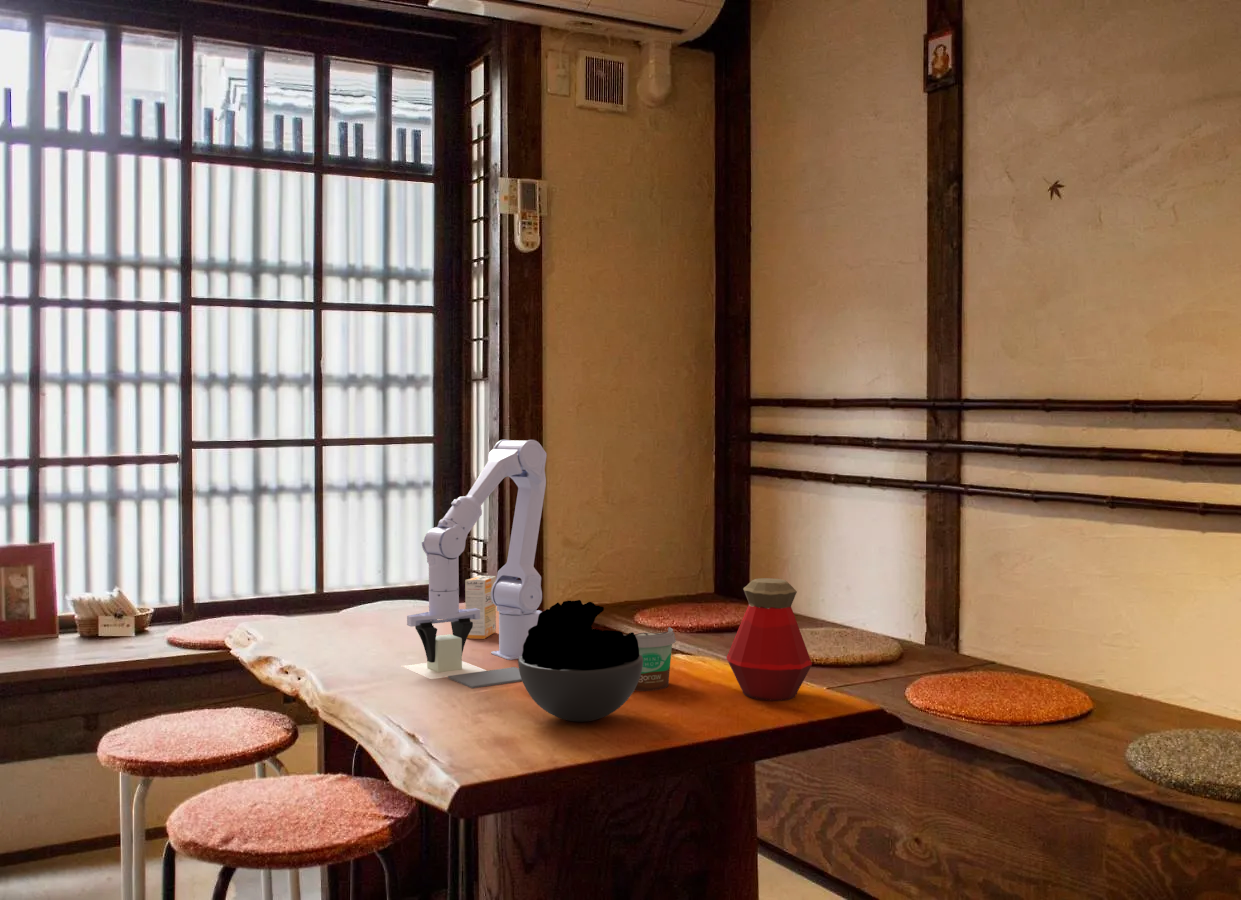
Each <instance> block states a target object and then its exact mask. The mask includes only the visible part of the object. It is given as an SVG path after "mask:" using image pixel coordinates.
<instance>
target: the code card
mask: <svg viewBox="0 0 1241 900" xmlns="http://www.w3.org/2000/svg"><path fill="white" fill-rule="evenodd" d="M401 667H402V668H404V669H407V670H409V671H411V672H413V673H416V674H418V675H420V676H422V677H425V678H427V679H430V680H435V679H443V678H448V676H452V675H459V674H467V673H474V672H481V671H488V670H486V669H485V668H481V667H479V666H476V665H474V664H471V663H469V662H466V661H463V660H462V669H459V670H452V671H444V672H436V671H434V670H431V669H429V668H427V662H422V663H416V664H409V665H408V664H407V665H406V664H405V665H401Z"/></svg>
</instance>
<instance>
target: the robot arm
mask: <svg viewBox="0 0 1241 900" xmlns="http://www.w3.org/2000/svg"><path fill="white" fill-rule="evenodd" d="M540 443H541V442H539V441H537V440H536V439H528V440H524V439H523V440H520V439H519V440H516V439H514V440H511V439H500V440H499V441H497V442H496V443H495V445H494V446H493V448H492V449H491V450H490V451H489V453H488V460H487V462H486V464H485V465H484V467H483V469H482V470H481V472H480V473H479V476H478V477H477V479H476V480H475V481H474V483H473V485H472V486H471V488H470V490H469V491H468V493H467V494H466V495H465V496H464V495H463V496H459V497H457V498H454V499H453V501H451V503H450V504H451V507H450V508H449V509H448V510H447V512H446V513H445V515H444V516H443V517H442V518H441V519H440V520H439V521H438V524H437V526H435V527H431V528H430V529H429V530H428V531H427V533H426V534H425V536H424V539H423V541H422V542H421V548H422V551H423V553H424V554H425V555H426V563H428V611H425V612H420V613H416V614H414V613H413V614H407V615H406V625H407V626H409V627H411V628H413V627H415V631H416V632H417V634H418V636H419V638H420V639H421V643H422V645H423V648H424V653H425V656H426V662H427V661H429V662H431V663H432V662H435V640H436V636H437V632H438V628H436V627H434V624H443V623H450V626H451V630H452V632H451V634H452V635H454V636H457V637H460V638H462V654H463V652H464V647H465V645H466V641H467V639H468V638H467V637H468V635H469V633H470V631H471V629H472V627H473V622H471V621H470V620H471V619H474V620H478V619H480V609H476V608H474V609H466V608H463V609H462V608H461V609H460V597H459V595H460V586H459V584H460V582H459V581H460V580H459V575H460V574H459V556H461V555H462V553H463V552H464V551H465V548H466V542H467V541H466V540H467V538H468V534H469V533H470V531H472V529H473V528H474V526H475V525H476V523H477V522H478V520H479V519H480V518H481V516H482V515H483V510H482V505H483V504H484V503H485V501H486V500H487V499H488V498H489V496H490V495H491V494H492V493H493V491H495V489H496V488H497V487H498V485H499V484H500V483H501V482H502V481H503V479H505V478H506V477H508V478H510V479H511V480H512V481H513V482H514V483H515V485H516V487H517V496H516V501H515V507H514V508H515V509H514V515H513V520H512V521H513V522H512V525H511V527H512V528H511V532H510V533H511V534H510V539H509V546H508V554H507V558H506V559H507V560H506V563H505V564H504V565H503V566H502V567H501V568H499V570H498V571H497V573H496V581H495V583H494V584H493V586H492V589H491V599H492V601H493V603H494V604H495V605H496V612H498V648H499V649H498V650H492V651H491V654H492V655H494V656H496V657H500V658H502V659H505V660H506V661H512V660H518V659H519V657H520V656H522V653H523V645H524V642H525V640H526V638H527V636H528V635H529V634H528V630H529V629H530V628H532V627H534V626H536V625H537V622H538V617H539V614H540V613H541V612H543V611H542V610H539V609H538V608H539V607H540V605H541V603H542V601H543V591H542V586H541V585H542V576H541V575H540V573H539V572H538V570H537V569H536V568H535V567H534V565H535V558H536V552H537V546H538V545H537V544H538V539H539V531H540V527H541V526H540V525H541V518H542V514H543V513H542V511H543V505H544V500H545V499H544V498H545V492H546V486H547V478H546V471H545V469H546V464H547V463H546V462H547V457H548V456H547V455H548V454H547V452H546V451H545V449H544V447H543V446H542V445H541V444H540ZM537 609H538V610H537Z"/></svg>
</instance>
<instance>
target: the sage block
mask: <svg viewBox="0 0 1241 900" xmlns="http://www.w3.org/2000/svg"><path fill="white" fill-rule="evenodd" d="M462 657H463V653H462V638H460V637H457V636H454V635H453V634H452V633H451V634H450V633H449V634H441V635H436V640H435V662H432V663H431V662H429V661H427V660H426V663H427V668H429V669H431V670H434V671H436V672H444V671H452V670H459V669H462V661H463V658H462Z"/></svg>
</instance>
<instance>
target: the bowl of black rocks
mask: <svg viewBox="0 0 1241 900" xmlns="http://www.w3.org/2000/svg"><path fill="white" fill-rule="evenodd" d="M604 610H605V607H604V606H601V605H596V604H595V602H592V601H588V602H586V603H584V604H583V602H582V600H580V599H576V600H564V601H563V602H562V603H561V604H560V602H557V603H555V604H553V605H551V606H550V607H549V609H548V608H546V609H544V611H542V612H541V613H540V614H539V617H538V622H537V625H536V626H534V627H532V628H530V629H529V630H528V634H529V635H528V636H527V638H526V640H525V642H524V645H523V653H522V656H520V657H519V659H517V664H518V665H517V666H518V668H519V672H520V676H521V679H522V681H521V682H522V684H523V686H524V688H525V691H526V692H527V693H528V695H529V696H530V698H531V699H532V700H533V701H534V703H536V704H537V705H538V706H539V707H540V708H541V709H542V710H544V711H545V712H547V713H548V714H550V715H551V716H554V717H556V718H559V719H561V720H564V721H569V722H578V723H580V722H581V723H583V722H591V721H596V720H599V719H602V718H605V717H607V716H610V715H611V714H613V713H614V712H616V711H617V710H619V709H620V708H621V707H622V706H623V705H624V704H626V702H627V701H628V700H629V698H630V697H631V696H632V695H633V694H634V692H635V688H636V686H637V684H638V681H639V678H640V676H641V672H642V667H643V657H642V656H641V655H640V654H639V647H638V640H637V638H636V636H635V633H634V632H633V631H632V632H629V633H628V634H624V633H623V632H622V631H620V630H610V629H605V630H603V629H600V628H593V627H592V626H593V624H594V623H595V620H596V618H597V617H598V616H599V615H600V614H601V613H602V612H604ZM623 634H624V635H623Z"/></svg>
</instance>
